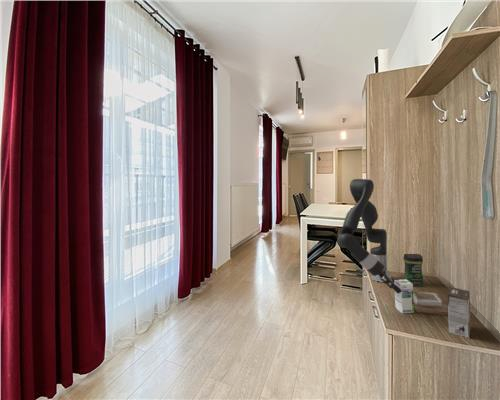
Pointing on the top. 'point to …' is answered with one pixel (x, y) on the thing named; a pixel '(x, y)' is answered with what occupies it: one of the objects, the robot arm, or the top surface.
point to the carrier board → (432, 310)
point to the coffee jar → (413, 269)
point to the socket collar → (427, 303)
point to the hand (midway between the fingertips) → (398, 288)
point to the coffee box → (459, 312)
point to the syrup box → (404, 296)
